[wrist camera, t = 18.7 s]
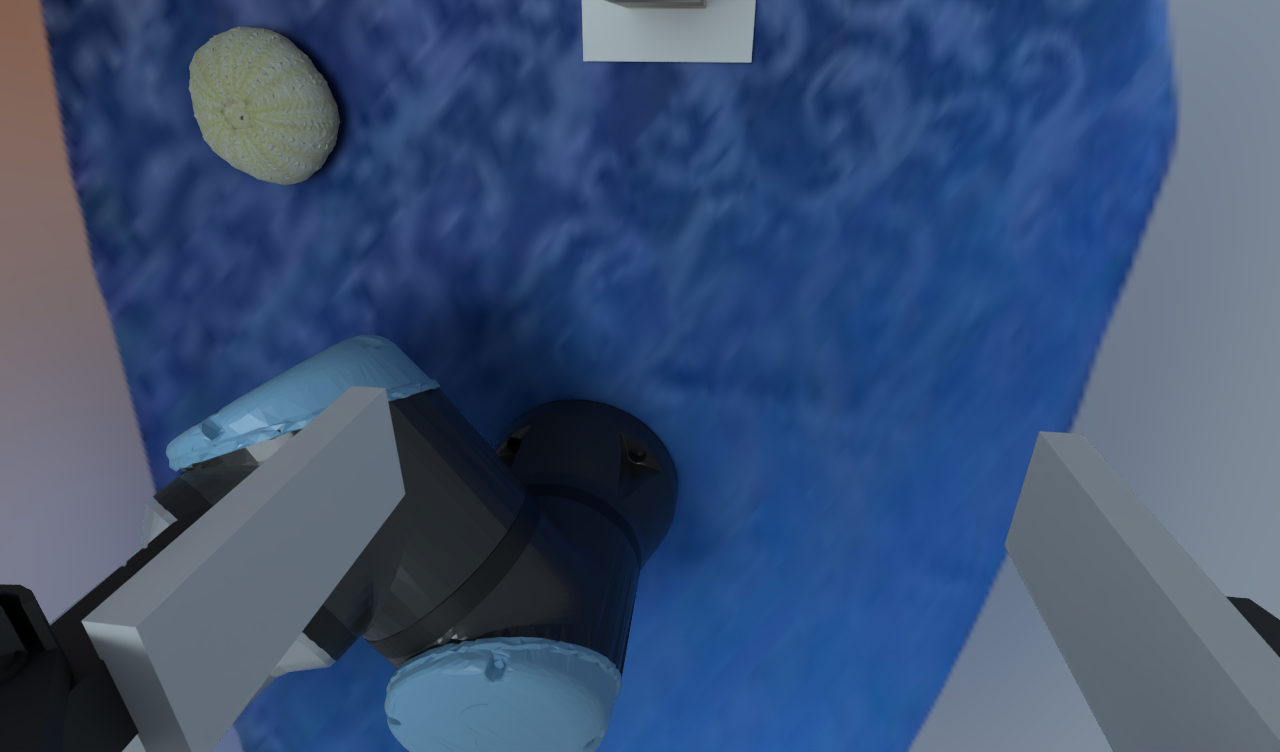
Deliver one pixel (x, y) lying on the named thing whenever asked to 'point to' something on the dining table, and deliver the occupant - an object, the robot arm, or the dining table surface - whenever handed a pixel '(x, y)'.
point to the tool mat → (669, 32)
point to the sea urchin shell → (263, 105)
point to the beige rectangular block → (660, 4)
